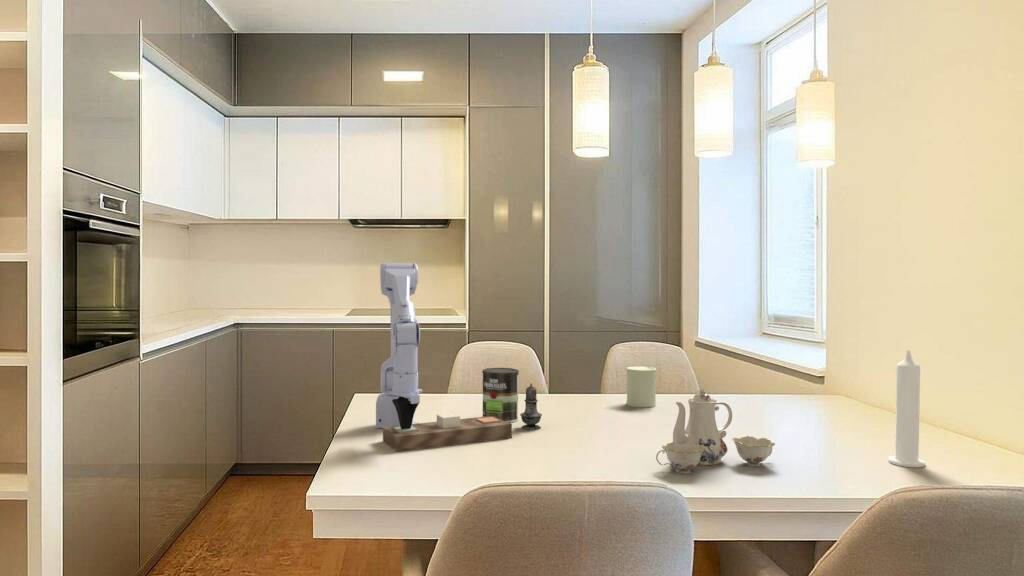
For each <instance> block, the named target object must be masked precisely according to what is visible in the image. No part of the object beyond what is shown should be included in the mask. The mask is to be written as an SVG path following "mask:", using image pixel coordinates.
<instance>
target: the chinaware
mask: <svg viewBox="0 0 1024 576" xmlns="http://www.w3.org/2000/svg"><path fill="white" fill-rule="evenodd" d="M698 392H699V393H696V394H695V395H694V397H691V398H687V399H686V400H687V401H688V406H689V416H688V422H687V425H686V413H687V412H686V408H685V405H684V404H683V403H682V402H681V401H676V402H675V403H676V405H677V407H678V413H677V417H676V421H675V425H674V426H673V432H672V441H670V442H668V443H666V445H662V446H661V448H662V449H661V450H659V451H658V452H657V453H656V456H655V459H656V463H658V464H659V465H660V466H666V465H669V467H668V469H669V470H672V469H673V468H675V469H674V470H675V472H676V473H680V474H684V475H685V474H692V473H693V472H692V471H691V470H693V469H694V468H695V467H697V466H698V465H699V466H715V465H719V464H721V463H722V458H723V457H724V456H726V454H727V453H728V450H729V449H728V447H727V445H726V442H725V441H724V438H725V437H726V435H727V431H726V429H727V428H728V427H729V426H730V425H731V423H732V420H733V411H732V408H731V407H730V405H729V404H728V403H726V402H723V401H718V400H717V399H714V398H711V396H710V395H709V394H708V393H707V391H706V390H705V389H704V387H701V388H700V390H698ZM718 405H722V406H724V407H725V408H726V409H727V411H728V412H727V413H728V416H727V417H728V418H727V421H726V423H725V424H724V425H723V426H722V427H721V428H718V427H717V426H718V425H717V422H716V412H717V411H719V410H720V406H718ZM685 426H686V428H685ZM732 442H733V443H734V444H735V447H736V451H737V453H738V455H739V457H740V458H741V459H742V460H744V461H745V462H746V463H745V465H747V466H749V467H761V466H762V462H764V461H766V459H768V457H769V456H771V454H772V453H773V447H774V446H775V445H776V444H775V442H772V440H771V439H770V438H768V437H761V438H756V437H754V436H751V435H744V436H742V437H740V438H738V437H732ZM661 452H662V454H666V457H667V460H668V461H669V462H666V463H661V462H660V461H659V458H658V456H659V454H660V453H661Z"/></svg>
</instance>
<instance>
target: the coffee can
mask: <svg viewBox="0 0 1024 576" xmlns="http://www.w3.org/2000/svg"><path fill="white" fill-rule="evenodd" d="M481 372H482V417H486V416H495V417H497V418H499V419H502V420H504V421H506V422H508V423H511V424H512V423H516V422H518V421H519V374H520V371H519V369H516V368H512V367H511V368H510V367H489V368H484V369H482V371H481Z"/></svg>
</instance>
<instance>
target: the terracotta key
mask: <svg viewBox="0 0 1024 576" xmlns="http://www.w3.org/2000/svg"><path fill="white" fill-rule="evenodd" d="M477 422H479V423H482V424H490V423H499V422H500V420H498V419H495V418H493V417H489V418H480V419H477Z"/></svg>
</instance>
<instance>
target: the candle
mask: <svg viewBox="0 0 1024 576" xmlns="http://www.w3.org/2000/svg"><path fill="white" fill-rule="evenodd" d="M906 350H907V351H906V353H905V357H904V358H903V360H901V361H900V362H898V363H897V364H896V368H895V369H896V370H895V373H896V375H895V376H896V377H895V378H896V380H895V381H896V382H895V429H894V430H895V431H894V436H895V437H894V438H895V441H894V443H895V444H894V455H891V456H888V458H887V459H888V460H887V461H888V462H889V463H890V464H892V465H895V466H899V467H902V468H903V467H905V468H916V469H918V468H923V467H925V466H926V461H925V460H924V459H921V458H919V454H920V453H919V451H920V447H919V445H920V443H919V442H920V404H921V403H920V401H921V400H920V399H921V398H920V394H921V393H920V392H921V366H920V364H918V363H917V362H916V361H915V360H914V359H913V358H912V354H911V350H909V349H906Z"/></svg>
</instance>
